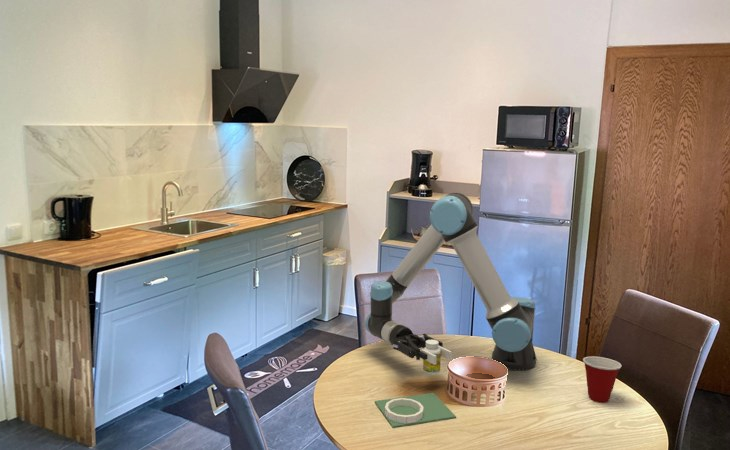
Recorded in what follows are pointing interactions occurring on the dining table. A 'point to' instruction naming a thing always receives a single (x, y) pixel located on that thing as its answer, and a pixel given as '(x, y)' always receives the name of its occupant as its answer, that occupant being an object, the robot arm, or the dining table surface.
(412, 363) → the dining table surface
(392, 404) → the segmented ring wall
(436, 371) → the supplement bottle
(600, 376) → the plastic cup
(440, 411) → the putting mat
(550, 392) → the dining table surface
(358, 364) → the dining table surface
